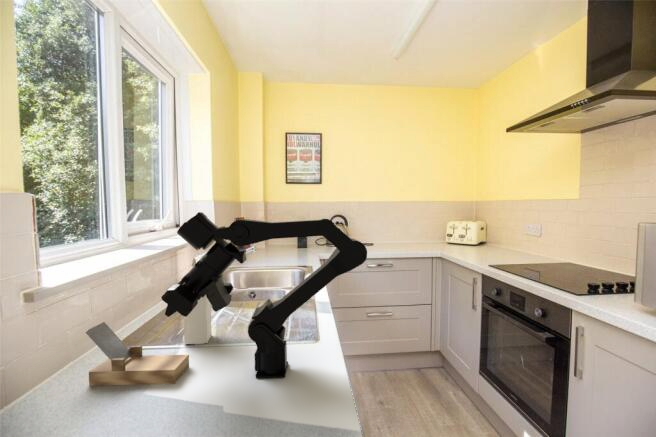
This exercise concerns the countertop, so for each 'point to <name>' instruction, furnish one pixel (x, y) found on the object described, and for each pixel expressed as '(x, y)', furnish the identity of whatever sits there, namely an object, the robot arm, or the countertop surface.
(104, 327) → the lever cap
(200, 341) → the milk
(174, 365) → the body
